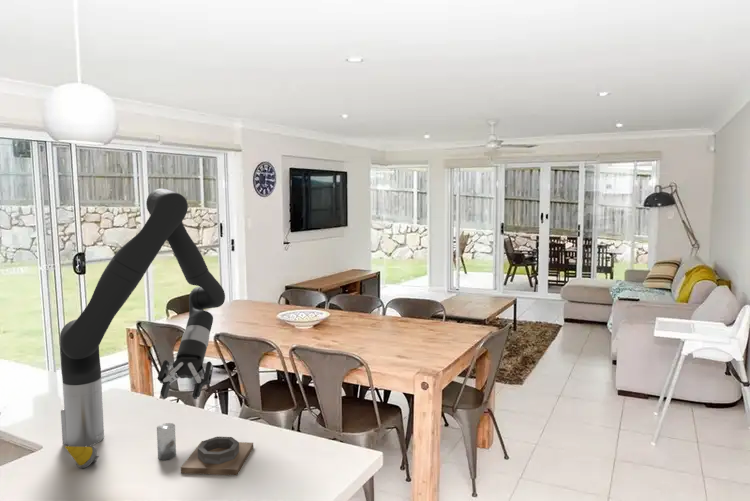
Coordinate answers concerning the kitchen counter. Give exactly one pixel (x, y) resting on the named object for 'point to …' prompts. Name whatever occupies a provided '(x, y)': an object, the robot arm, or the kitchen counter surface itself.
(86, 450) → the drill bit
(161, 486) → the kitchen counter surface
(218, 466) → the socket board
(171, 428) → the steel peg
